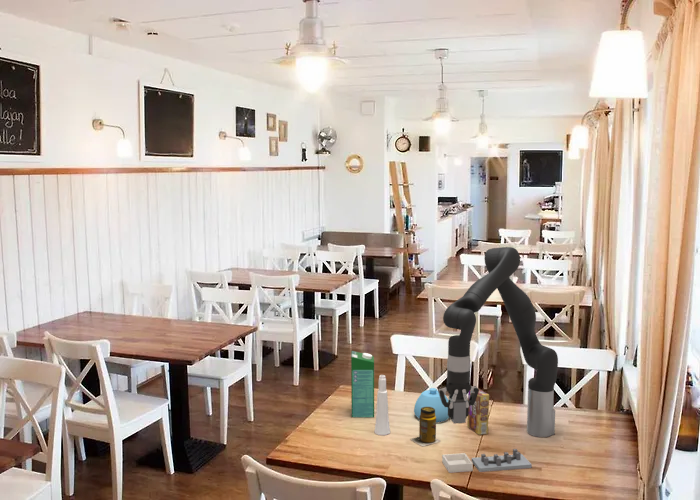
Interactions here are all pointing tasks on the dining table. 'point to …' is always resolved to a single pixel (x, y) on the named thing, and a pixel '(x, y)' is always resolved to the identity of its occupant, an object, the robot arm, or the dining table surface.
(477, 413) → the candy box
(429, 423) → the condiment
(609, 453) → the dining table surface
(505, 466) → the board
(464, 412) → the block
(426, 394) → the sugar bowl
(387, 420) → the cosmetic bottle
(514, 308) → the robot arm
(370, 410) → the milk carton
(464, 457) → the white square tray
